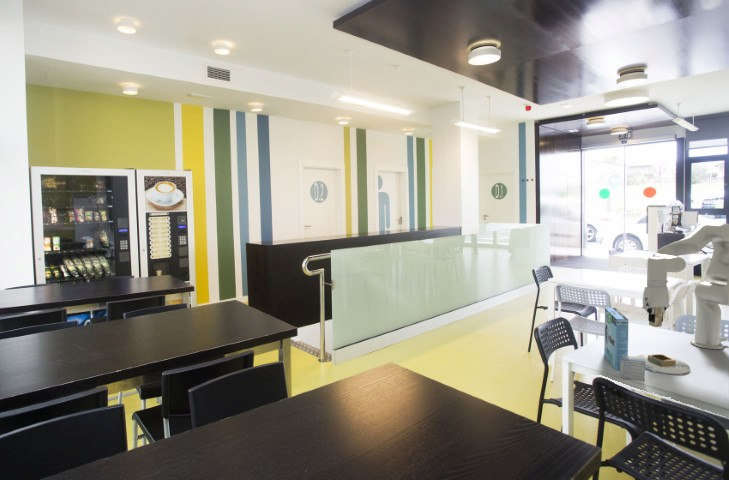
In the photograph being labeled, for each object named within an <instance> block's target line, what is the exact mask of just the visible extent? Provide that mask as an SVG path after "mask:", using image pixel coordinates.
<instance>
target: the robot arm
mask: <svg viewBox="0 0 729 480" xmlns="http://www.w3.org/2000/svg"><path fill="white" fill-rule="evenodd" d="M710 243H711V244H712V247H713V251H712V255H711V258H710V260H709V262H708V265H707V269H706V270H705V276H706V277H707V278H708V279H709V280H711V281H701V282H698V283H697V284H696V285H695V287H694V298H695V305H696V306H695V307H696V308H695V309H696V310H695V323H694V324H695V325H694V327H695V329H694V338H691V339H690V344H691V345H694V346H695V347H699V348H702V349H707V350H722V349H724V344H723V343H722V342H727V341H728V337H727V336H723V337H722V336H721V324H722V323H721V321H722V320H721V319H722V309H721V307H720V305H721V306H727V307H729V223H722V222H702V223H700V224H698V226H696V227H695V228H694V229H692V231H691V232H689V233H688V234H687V235H685V236H684V237H683V238H682V239H680V240H676V241H674V242H671V243H669V244H666V245H664V246H662V247H660V248H659V249H658V250H657V251H655V253H653V255H652V256H649V258H647V264H646V265H647V266H646V267H647V268H646V269H647V271H646V273H647V274H646V285H645V286H644V290H643V294H642V307H641V308H642V309H643V310H645V311H646V313H648V315H647V316H648V318H647V319H648V320H647V321H648V322H649V321H650V322H653V323H654V322H655V314H654V310H655V308H657V307H662V323H663V322H664V314H665V313H666V310H667V309H669V308H671V306H670V304H669V302H670V300H669V299H670V297H669V288H668V285H667V284H668V282H669V281H668V277H667V276H668V273H680V272H682V271H683V270H685V268H686V266H687V262H686V260H685V259H684V258H683V257H680V256H685V255H686V256H687V255H693V254H696V253H699V252H700V251H702V249H704V248H705V247H706V246H707V245H708V244H710ZM712 281H715V282H712ZM716 282H720V283H716ZM722 283H726V284H722Z"/></svg>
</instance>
